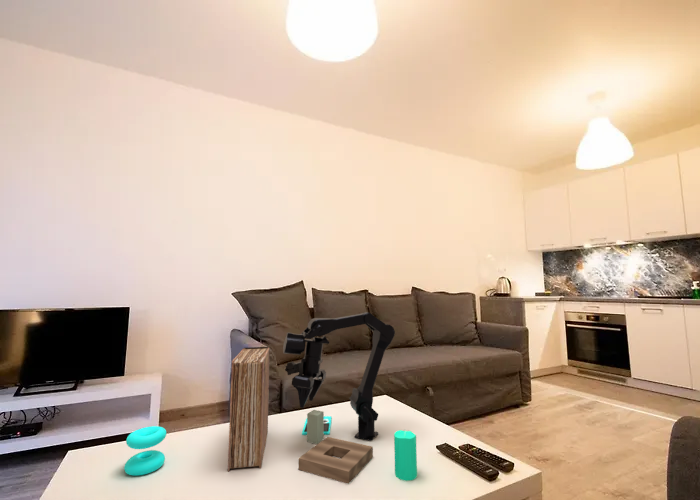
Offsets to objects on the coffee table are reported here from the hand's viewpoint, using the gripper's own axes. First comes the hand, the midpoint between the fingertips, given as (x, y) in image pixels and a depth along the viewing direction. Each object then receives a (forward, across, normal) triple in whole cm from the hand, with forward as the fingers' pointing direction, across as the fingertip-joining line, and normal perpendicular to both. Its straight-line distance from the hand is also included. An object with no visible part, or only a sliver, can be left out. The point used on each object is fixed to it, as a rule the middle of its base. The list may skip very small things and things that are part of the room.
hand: (306, 403), depth 113 cm
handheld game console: (+12, -17, +1) cm, 21 cm away
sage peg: (+12, -4, +4) cm, 13 cm away
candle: (+10, +11, +34) cm, 37 cm away
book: (+15, +6, -15) cm, 22 cm away
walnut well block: (+12, +9, +14) cm, 21 cm away
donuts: (+19, +22, -38) cm, 48 cm away
